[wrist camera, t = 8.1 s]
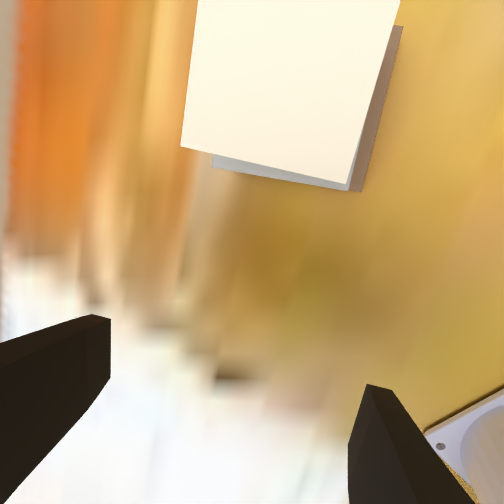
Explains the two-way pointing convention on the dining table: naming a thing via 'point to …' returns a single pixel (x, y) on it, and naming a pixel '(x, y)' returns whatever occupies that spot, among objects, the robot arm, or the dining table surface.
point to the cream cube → (285, 80)
